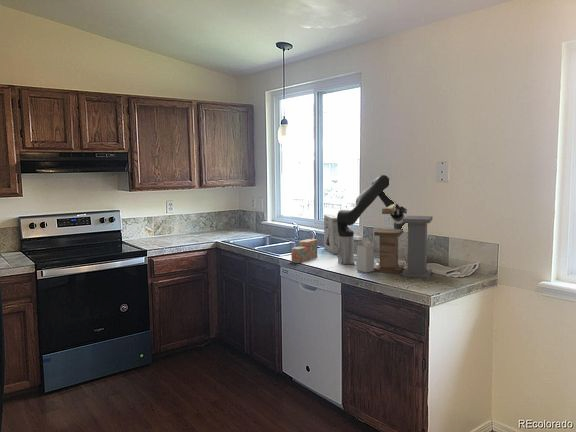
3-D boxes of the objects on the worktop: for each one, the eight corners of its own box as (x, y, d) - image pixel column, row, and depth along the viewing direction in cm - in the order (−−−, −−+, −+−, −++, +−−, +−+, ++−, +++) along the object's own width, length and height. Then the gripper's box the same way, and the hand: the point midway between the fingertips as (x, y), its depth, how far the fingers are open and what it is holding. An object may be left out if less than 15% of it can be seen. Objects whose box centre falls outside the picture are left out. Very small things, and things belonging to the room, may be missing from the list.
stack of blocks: (299, 263, 292) (298, 244, 291) (291, 262, 296) (290, 243, 294) (317, 257, 309) (317, 239, 308) (309, 256, 313) (309, 238, 312)
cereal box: (324, 248, 338) (323, 214, 335) (334, 247, 340) (333, 214, 336) (332, 254, 317) (332, 218, 314) (343, 253, 318) (342, 217, 315)
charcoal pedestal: (428, 278, 249) (429, 219, 245) (402, 276, 255) (402, 218, 251) (431, 272, 262) (432, 216, 258) (406, 270, 268) (406, 215, 264)
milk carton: (356, 270, 270) (356, 238, 267) (364, 268, 274) (364, 237, 272) (366, 272, 264) (366, 240, 262) (374, 270, 269) (374, 238, 266)
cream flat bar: (392, 214, 261) (392, 208, 260) (381, 213, 263) (381, 208, 263) (399, 209, 282) (399, 204, 281) (390, 209, 284) (390, 204, 284)
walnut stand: (398, 273, 262) (398, 233, 259) (374, 271, 267) (374, 232, 264) (403, 267, 274) (403, 229, 271) (379, 266, 280) (379, 228, 277)
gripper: (387, 210, 297) (382, 199, 282) (409, 210, 291) (405, 199, 276) (386, 221, 294) (381, 210, 279) (408, 221, 288) (404, 211, 274)
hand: (393, 205), depth 278 cm, fingers closed on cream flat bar, 3 cm apart
